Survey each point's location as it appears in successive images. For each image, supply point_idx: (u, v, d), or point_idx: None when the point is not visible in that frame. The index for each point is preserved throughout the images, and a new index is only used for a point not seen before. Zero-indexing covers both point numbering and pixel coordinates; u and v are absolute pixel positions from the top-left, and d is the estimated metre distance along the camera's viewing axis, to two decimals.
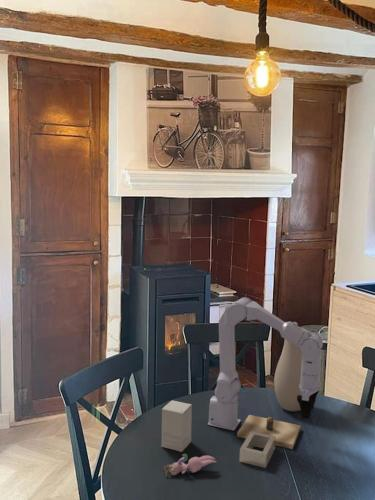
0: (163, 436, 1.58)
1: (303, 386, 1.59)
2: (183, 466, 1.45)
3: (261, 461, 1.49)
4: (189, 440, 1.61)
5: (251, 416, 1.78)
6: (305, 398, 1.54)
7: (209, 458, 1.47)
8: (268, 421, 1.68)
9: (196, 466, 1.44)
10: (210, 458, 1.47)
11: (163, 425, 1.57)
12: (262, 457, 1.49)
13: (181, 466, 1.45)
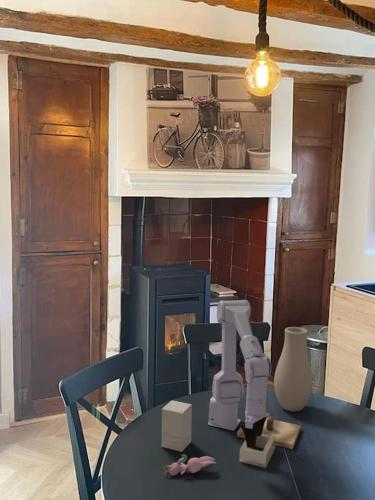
0: (163, 436, 1.58)
1: (248, 412, 1.47)
2: (182, 466, 1.45)
3: (261, 461, 1.49)
4: (189, 440, 1.61)
5: None
6: (248, 426, 1.42)
7: (209, 459, 1.47)
8: (268, 421, 1.68)
9: (195, 467, 1.44)
10: (210, 459, 1.47)
11: (163, 425, 1.57)
12: (262, 457, 1.49)
13: (180, 466, 1.44)
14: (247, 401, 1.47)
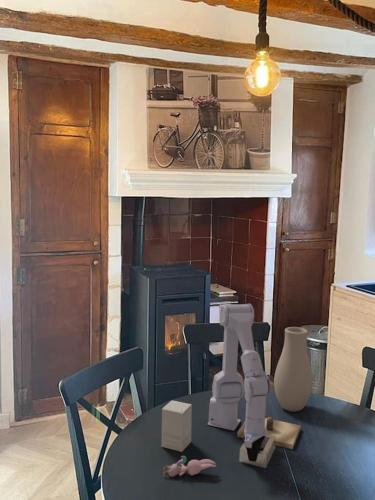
0: (163, 436, 1.58)
1: (247, 430, 1.48)
2: (182, 468, 1.44)
3: (261, 461, 1.49)
4: (189, 440, 1.61)
5: None
6: (247, 445, 1.43)
7: (209, 462, 1.45)
8: (268, 421, 1.68)
9: (194, 469, 1.42)
10: (210, 462, 1.45)
11: (163, 425, 1.57)
12: (262, 457, 1.49)
13: (180, 468, 1.44)
14: (246, 420, 1.48)
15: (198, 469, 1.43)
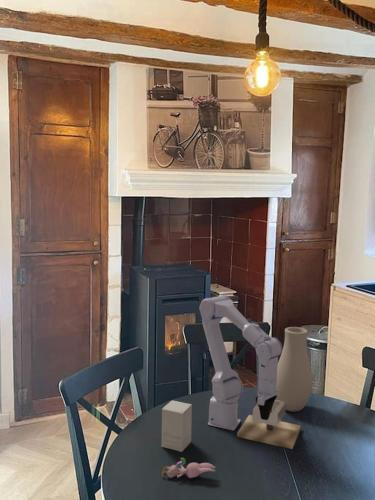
0: (163, 436, 1.58)
1: (260, 390, 1.59)
2: (181, 470, 1.43)
3: (272, 420, 1.60)
4: (189, 440, 1.61)
5: (251, 416, 1.78)
6: (260, 402, 1.54)
7: (209, 466, 1.43)
8: None
9: (192, 472, 1.41)
10: (210, 466, 1.43)
11: (163, 425, 1.57)
12: (274, 416, 1.60)
13: (178, 470, 1.43)
14: (259, 380, 1.59)
15: (196, 472, 1.41)
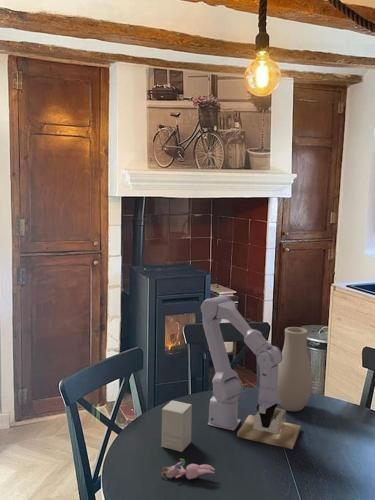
0: (163, 436, 1.58)
1: (261, 399, 1.61)
2: (180, 471, 1.42)
3: (273, 428, 1.62)
4: (189, 440, 1.61)
5: (251, 416, 1.78)
6: (262, 411, 1.56)
7: (208, 468, 1.42)
8: None
9: (191, 473, 1.40)
10: (209, 468, 1.42)
11: (163, 425, 1.57)
12: (275, 424, 1.62)
13: (178, 470, 1.42)
14: (260, 389, 1.61)
15: (195, 474, 1.40)
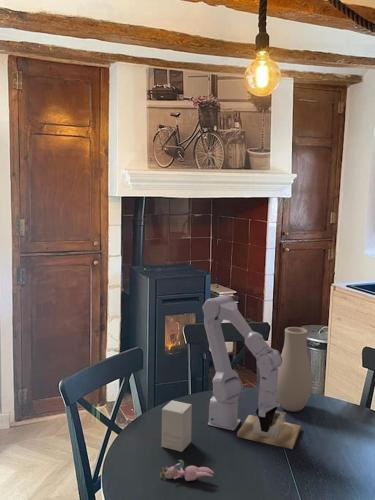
0: (163, 436, 1.58)
1: (261, 402, 1.61)
2: (179, 472, 1.42)
3: (273, 434, 1.62)
4: (189, 440, 1.61)
5: (251, 416, 1.78)
6: (261, 414, 1.56)
7: (207, 470, 1.41)
8: None
9: (189, 475, 1.39)
10: (208, 471, 1.41)
11: (163, 425, 1.57)
12: (274, 430, 1.62)
13: (177, 471, 1.42)
14: (260, 392, 1.61)
15: (193, 476, 1.39)
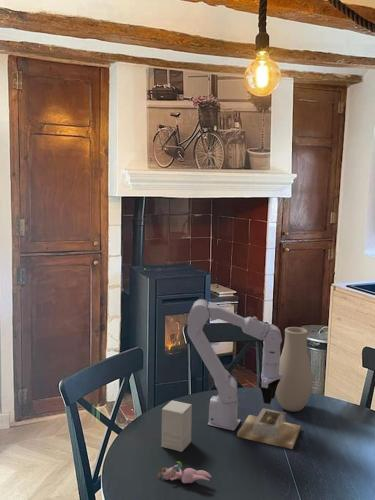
0: (163, 436, 1.58)
1: (264, 374, 1.69)
2: (177, 473, 1.41)
3: (273, 434, 1.62)
4: (189, 440, 1.61)
5: (251, 416, 1.78)
6: (264, 385, 1.65)
7: (204, 474, 1.39)
8: (268, 421, 1.68)
9: (186, 477, 1.38)
10: (205, 474, 1.39)
11: (163, 425, 1.57)
12: (274, 430, 1.62)
13: (174, 473, 1.41)
14: (263, 365, 1.70)
15: (190, 478, 1.38)
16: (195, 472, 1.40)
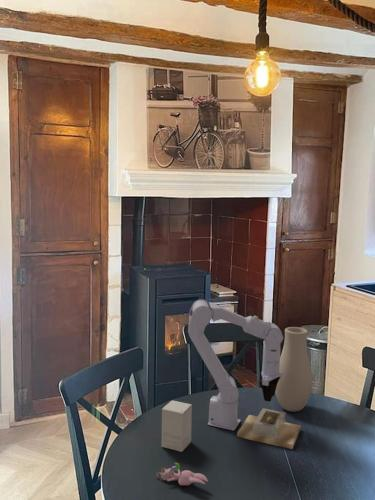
0: (163, 436, 1.58)
1: (264, 372, 1.71)
2: (174, 475, 1.40)
3: (273, 434, 1.62)
4: (189, 440, 1.61)
5: (251, 416, 1.78)
6: (265, 383, 1.67)
7: (201, 477, 1.37)
8: (268, 421, 1.68)
9: (182, 479, 1.37)
10: (202, 478, 1.37)
11: (163, 425, 1.57)
12: (274, 430, 1.62)
13: (172, 474, 1.41)
14: (263, 363, 1.72)
15: (186, 481, 1.37)
16: (192, 475, 1.38)
